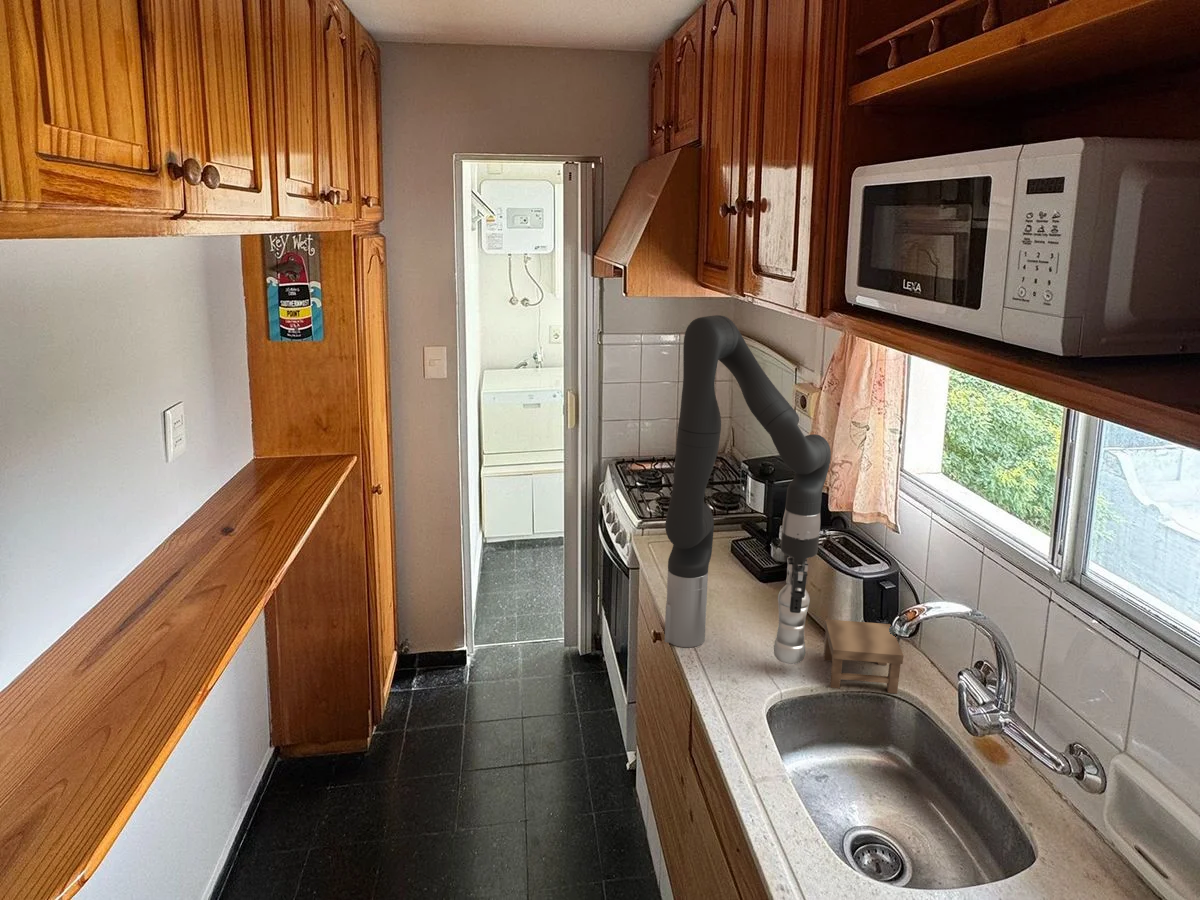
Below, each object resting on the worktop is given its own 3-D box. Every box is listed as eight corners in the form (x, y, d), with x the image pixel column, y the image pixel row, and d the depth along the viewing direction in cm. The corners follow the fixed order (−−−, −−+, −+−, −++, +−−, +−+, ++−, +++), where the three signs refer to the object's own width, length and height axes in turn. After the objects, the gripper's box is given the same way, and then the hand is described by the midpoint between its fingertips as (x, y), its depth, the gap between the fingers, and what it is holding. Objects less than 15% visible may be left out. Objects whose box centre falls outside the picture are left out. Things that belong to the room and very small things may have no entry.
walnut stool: (829, 688, 174) (833, 649, 171) (821, 655, 187) (825, 619, 185) (898, 694, 172) (903, 655, 170) (886, 660, 185) (890, 624, 183)
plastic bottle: (804, 669, 175) (813, 582, 170) (772, 665, 177) (780, 579, 171) (803, 655, 181) (812, 570, 176) (772, 651, 183) (779, 567, 177)
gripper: (780, 517, 178) (773, 589, 183) (784, 542, 165) (777, 618, 169) (815, 520, 177) (808, 591, 182) (823, 545, 164) (815, 622, 168)
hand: (793, 604), depth 175 cm, fingers closed on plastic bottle, 6 cm apart
